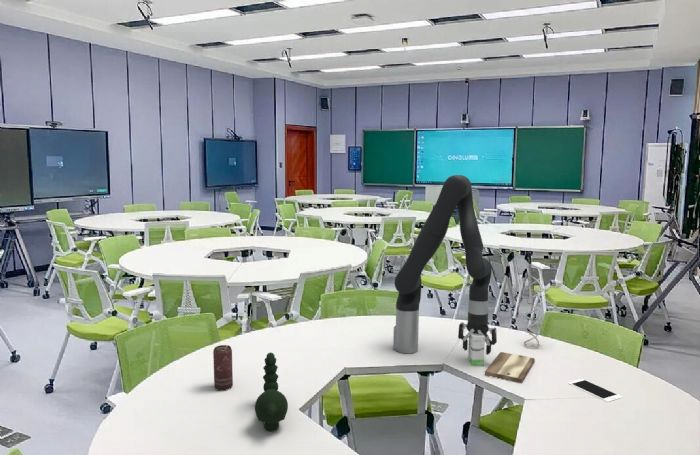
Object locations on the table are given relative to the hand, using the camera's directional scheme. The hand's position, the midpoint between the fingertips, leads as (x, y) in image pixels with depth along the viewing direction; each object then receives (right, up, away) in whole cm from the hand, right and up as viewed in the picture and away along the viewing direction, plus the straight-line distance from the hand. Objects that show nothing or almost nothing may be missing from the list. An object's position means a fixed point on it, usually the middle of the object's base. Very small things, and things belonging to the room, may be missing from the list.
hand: (476, 352), depth 203 cm
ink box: (0, -4, +1) cm, 4 cm away
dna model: (+27, -2, +17) cm, 32 cm away
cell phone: (+35, -8, -23) cm, 42 cm away
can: (-91, -7, -23) cm, 94 cm away
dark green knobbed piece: (-72, -10, -44) cm, 85 cm away
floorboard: (+11, -5, -5) cm, 13 cm away
